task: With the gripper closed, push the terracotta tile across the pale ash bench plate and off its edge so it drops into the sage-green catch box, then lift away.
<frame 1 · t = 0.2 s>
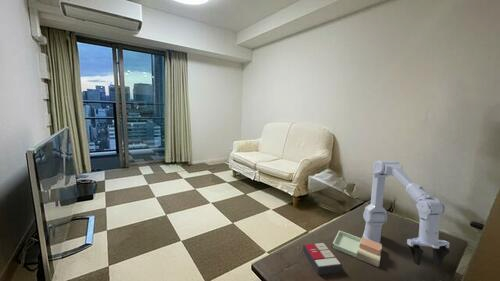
hand: (426, 263, 80), 10 cm above the table, tool pointing down, fingers open, 7 cm apart
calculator: (320, 261, 94), on the table
tile: (369, 248, 98), point 3 cm above the table, touching bench plate
bench plate: (369, 253, 99), on the table
catch box: (346, 244, 104), on the table
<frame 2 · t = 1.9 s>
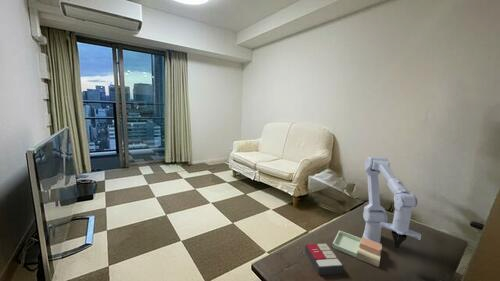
hand: (396, 246, 92), 8 cm above the table, tool pointing down, fingers closed
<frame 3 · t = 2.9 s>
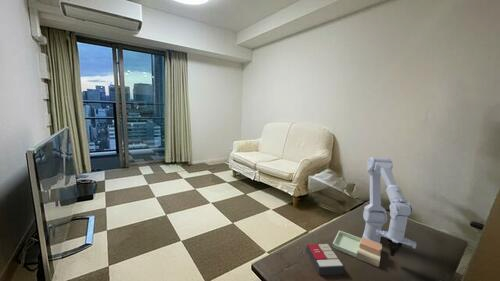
hand: (392, 254, 93), 4 cm above the table, tool pointing down, fingers closed
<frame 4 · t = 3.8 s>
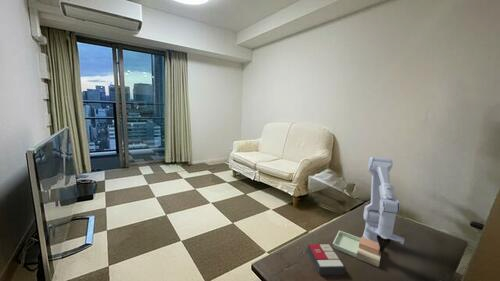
hand: (381, 250, 95), 4 cm above the table, tool pointing down, fingers closed
tile: (368, 247, 98), point 3 cm above the table, touching gripper
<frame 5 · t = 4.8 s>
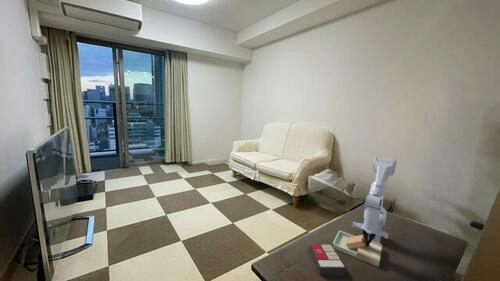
hand: (367, 245, 99), 4 cm above the table, tool pointing down, fingers closed
tile: (357, 244, 101), point 3 cm above the table, tilted 36°, touching catch box, gripper
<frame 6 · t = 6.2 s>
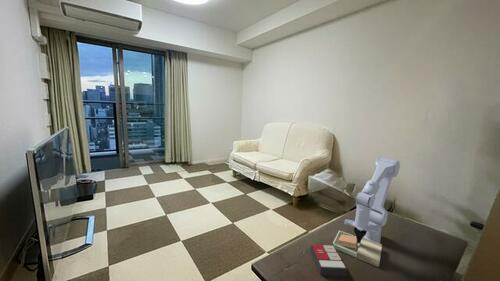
hand: (358, 242, 101), 4 cm above the table, tool pointing down, fingers closed
tile: (348, 243, 104), point 1 cm above the table, tilted 13°, touching catch box, gripper
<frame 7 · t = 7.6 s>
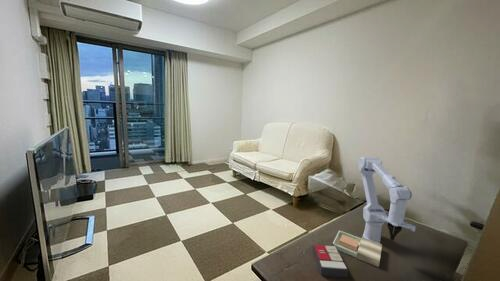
hand: (392, 238, 96), 9 cm above the table, tool pointing down, fingers closed
tile: (348, 245, 104), resting on catch box
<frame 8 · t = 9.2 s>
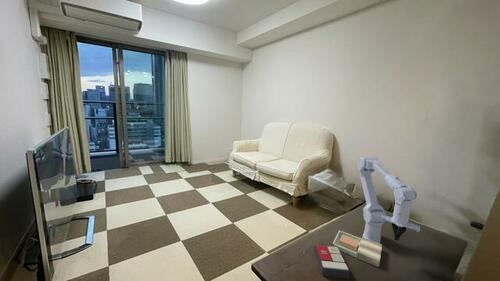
hand: (396, 239, 95), 9 cm above the table, tool pointing down, fingers closed
at the end: tile inside the target area on the catch box (0.9 cm from its centre), point 0.4 cm above the catch box's base; the gripper is holding nothing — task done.
